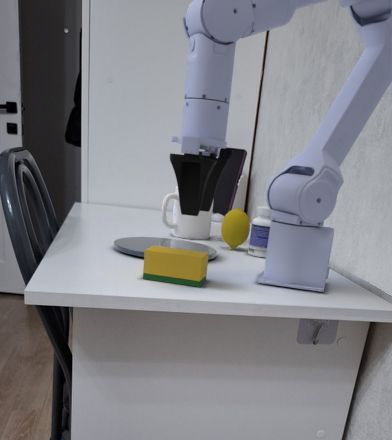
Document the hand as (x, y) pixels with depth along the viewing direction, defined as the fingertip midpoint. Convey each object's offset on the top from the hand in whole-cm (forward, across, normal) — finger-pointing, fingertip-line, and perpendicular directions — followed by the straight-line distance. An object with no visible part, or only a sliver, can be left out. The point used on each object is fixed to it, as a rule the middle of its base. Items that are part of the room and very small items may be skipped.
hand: (196, 212), depth 72 cm
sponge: (+9, 0, -2) cm, 10 cm away
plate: (+9, -20, -9) cm, 24 cm away
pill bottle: (+10, -31, +7) cm, 33 cm away
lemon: (+10, -34, +1) cm, 35 cm away
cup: (+10, -42, -11) cm, 44 cm away
